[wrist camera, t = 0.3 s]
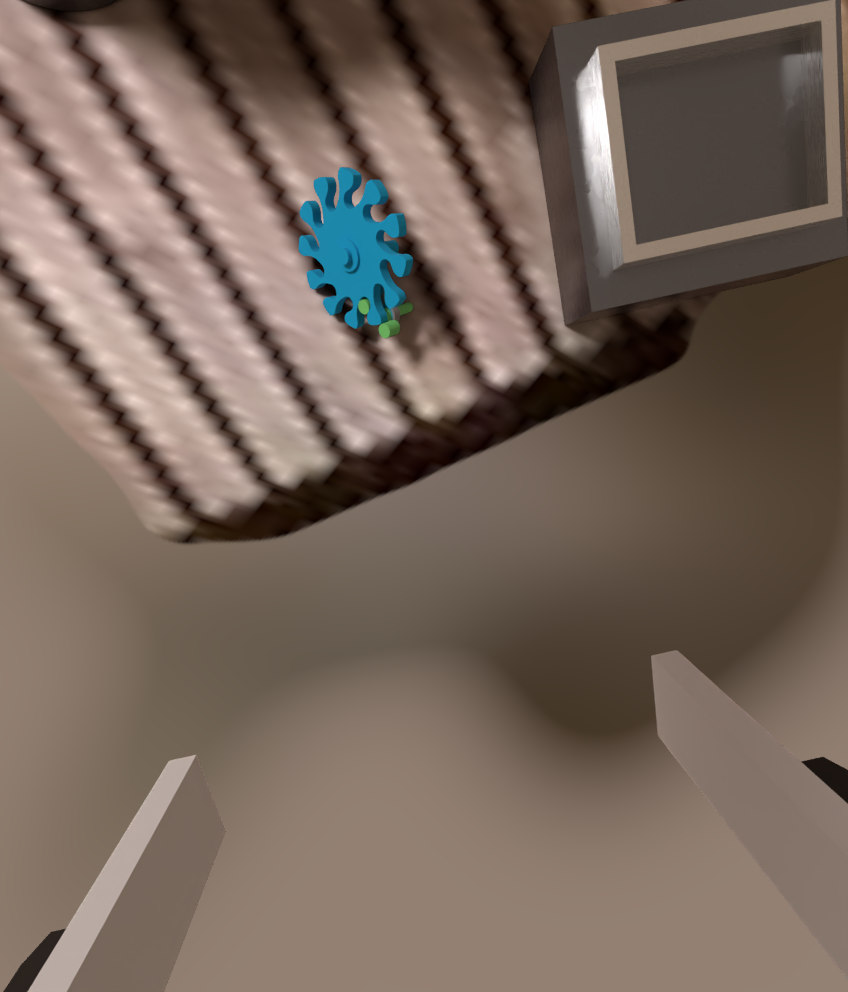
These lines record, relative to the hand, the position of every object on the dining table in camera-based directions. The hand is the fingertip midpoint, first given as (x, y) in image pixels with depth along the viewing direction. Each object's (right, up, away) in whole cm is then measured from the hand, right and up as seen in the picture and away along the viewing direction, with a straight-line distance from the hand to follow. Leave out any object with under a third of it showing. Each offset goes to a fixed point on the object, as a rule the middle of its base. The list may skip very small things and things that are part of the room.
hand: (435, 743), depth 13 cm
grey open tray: (+19, +32, +23) cm, 44 cm away
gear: (-5, +25, +23) cm, 34 cm away
